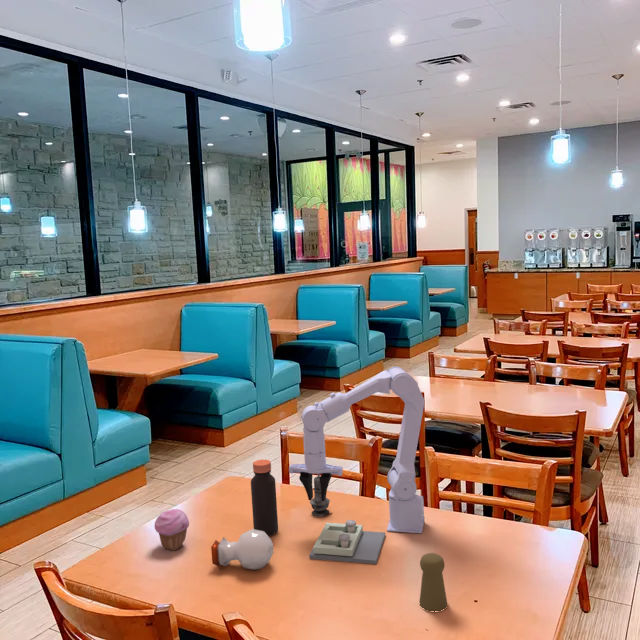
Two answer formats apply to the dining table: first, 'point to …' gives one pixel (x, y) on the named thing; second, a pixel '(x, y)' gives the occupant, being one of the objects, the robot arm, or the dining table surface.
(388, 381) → the robot arm
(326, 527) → the panel
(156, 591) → the dining table surface
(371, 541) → the boss board
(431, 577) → the olive pawn
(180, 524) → the cupcake
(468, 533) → the dining table surface
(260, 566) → the potion bottle
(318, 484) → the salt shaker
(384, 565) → the dining table surface
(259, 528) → the vinegar
